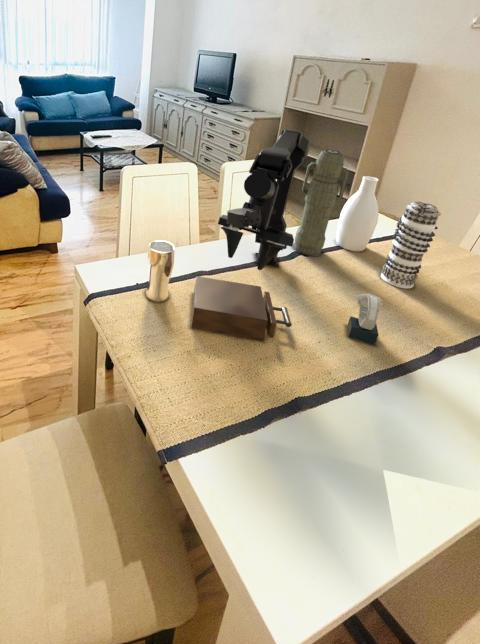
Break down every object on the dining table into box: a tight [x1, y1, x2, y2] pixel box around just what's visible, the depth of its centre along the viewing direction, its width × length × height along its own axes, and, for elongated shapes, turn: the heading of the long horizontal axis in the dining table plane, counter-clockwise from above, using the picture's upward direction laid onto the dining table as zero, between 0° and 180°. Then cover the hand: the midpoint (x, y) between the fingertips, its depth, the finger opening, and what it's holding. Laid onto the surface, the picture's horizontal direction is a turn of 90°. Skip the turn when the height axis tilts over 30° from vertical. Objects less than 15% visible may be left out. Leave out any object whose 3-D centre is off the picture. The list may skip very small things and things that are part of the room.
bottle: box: [335, 175, 379, 252], centre depth 132 cm, size 11×11×25 cm
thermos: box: [293, 148, 350, 257], centre depth 126 cm, size 9×12×35 cm
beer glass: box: [145, 239, 176, 303], centre depth 102 cm, size 7×7×15 cm
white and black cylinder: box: [380, 201, 442, 289], centre depth 112 cm, size 9×9×25 cm
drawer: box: [263, 291, 292, 339], centre depth 95 cm, size 20×12×4 cm, turn 78°
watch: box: [346, 293, 382, 346], centre depth 91 cm, size 6×8×11 cm
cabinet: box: [191, 275, 268, 342], centre depth 96 cm, size 17×14×6 cm
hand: (244, 263), depth 94 cm, fingers open, 9 cm apart
